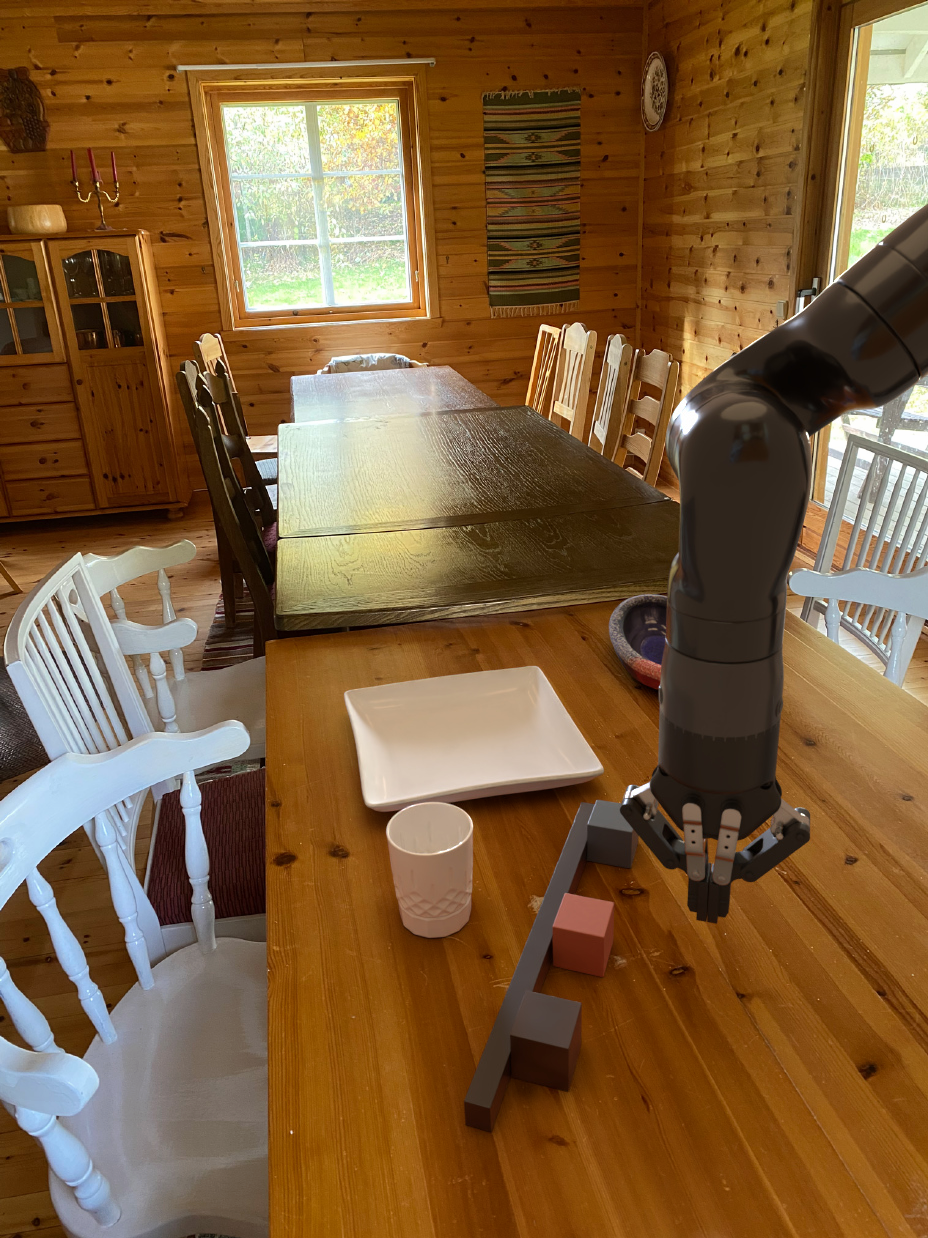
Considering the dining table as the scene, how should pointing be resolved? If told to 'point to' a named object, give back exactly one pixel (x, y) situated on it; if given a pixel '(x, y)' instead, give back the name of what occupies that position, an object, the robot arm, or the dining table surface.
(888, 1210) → the dining table surface
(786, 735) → the dining table surface
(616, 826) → the slate block
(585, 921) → the terracotta block
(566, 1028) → the walnut block
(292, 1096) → the dining table surface
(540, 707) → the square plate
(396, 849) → the white cup
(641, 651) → the dish
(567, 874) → the rail
